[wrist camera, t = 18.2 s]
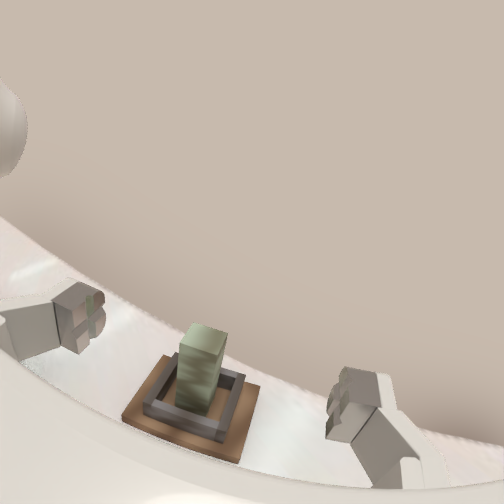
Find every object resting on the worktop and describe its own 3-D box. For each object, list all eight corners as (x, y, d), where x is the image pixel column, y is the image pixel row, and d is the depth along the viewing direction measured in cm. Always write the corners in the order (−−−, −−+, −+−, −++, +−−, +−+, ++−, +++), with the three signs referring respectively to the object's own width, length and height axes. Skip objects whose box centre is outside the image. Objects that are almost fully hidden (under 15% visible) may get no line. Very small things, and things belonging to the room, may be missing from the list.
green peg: (174, 407, 37) (179, 342, 33) (185, 386, 41) (193, 322, 37) (205, 418, 37) (217, 355, 32) (214, 396, 41) (227, 333, 36)
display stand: (122, 421, 34) (119, 401, 32) (163, 361, 47) (164, 340, 45) (237, 463, 32) (244, 447, 31) (258, 392, 45) (264, 372, 44)
